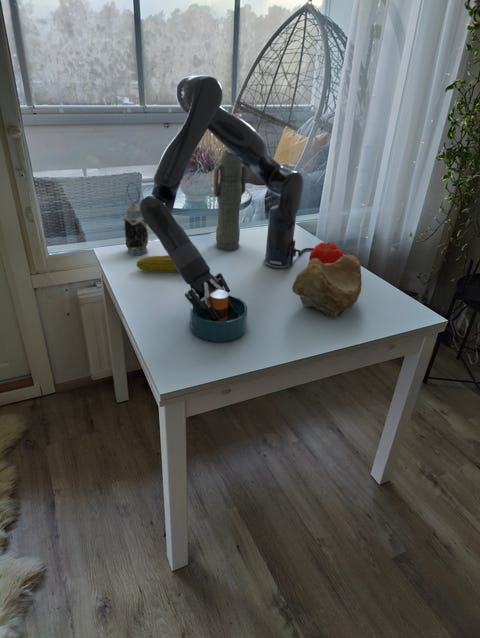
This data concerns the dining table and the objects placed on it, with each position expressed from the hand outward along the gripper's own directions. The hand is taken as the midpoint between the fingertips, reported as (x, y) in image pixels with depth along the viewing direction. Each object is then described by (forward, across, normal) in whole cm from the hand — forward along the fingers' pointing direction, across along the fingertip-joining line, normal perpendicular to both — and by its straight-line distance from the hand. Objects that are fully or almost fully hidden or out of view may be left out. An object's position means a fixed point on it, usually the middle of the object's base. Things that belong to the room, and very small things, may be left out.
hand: (223, 315), depth 119 cm
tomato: (+7, +54, -1) cm, 54 cm away
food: (-21, +18, +28) cm, 40 cm away
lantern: (-35, +22, +42) cm, 59 cm away
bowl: (+2, 0, +4) cm, 5 cm away
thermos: (-20, +48, +27) cm, 59 cm away
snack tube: (+2, 0, +4) cm, 4 cm away
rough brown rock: (+16, +30, -10) cm, 36 cm away
